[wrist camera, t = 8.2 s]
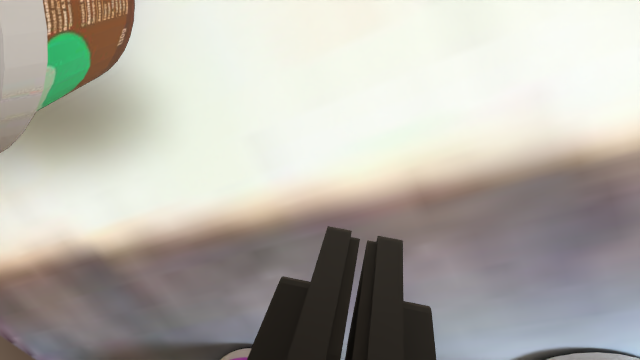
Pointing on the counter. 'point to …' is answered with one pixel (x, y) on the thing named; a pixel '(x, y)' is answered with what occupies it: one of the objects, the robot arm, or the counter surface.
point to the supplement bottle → (238, 354)
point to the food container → (54, 52)
